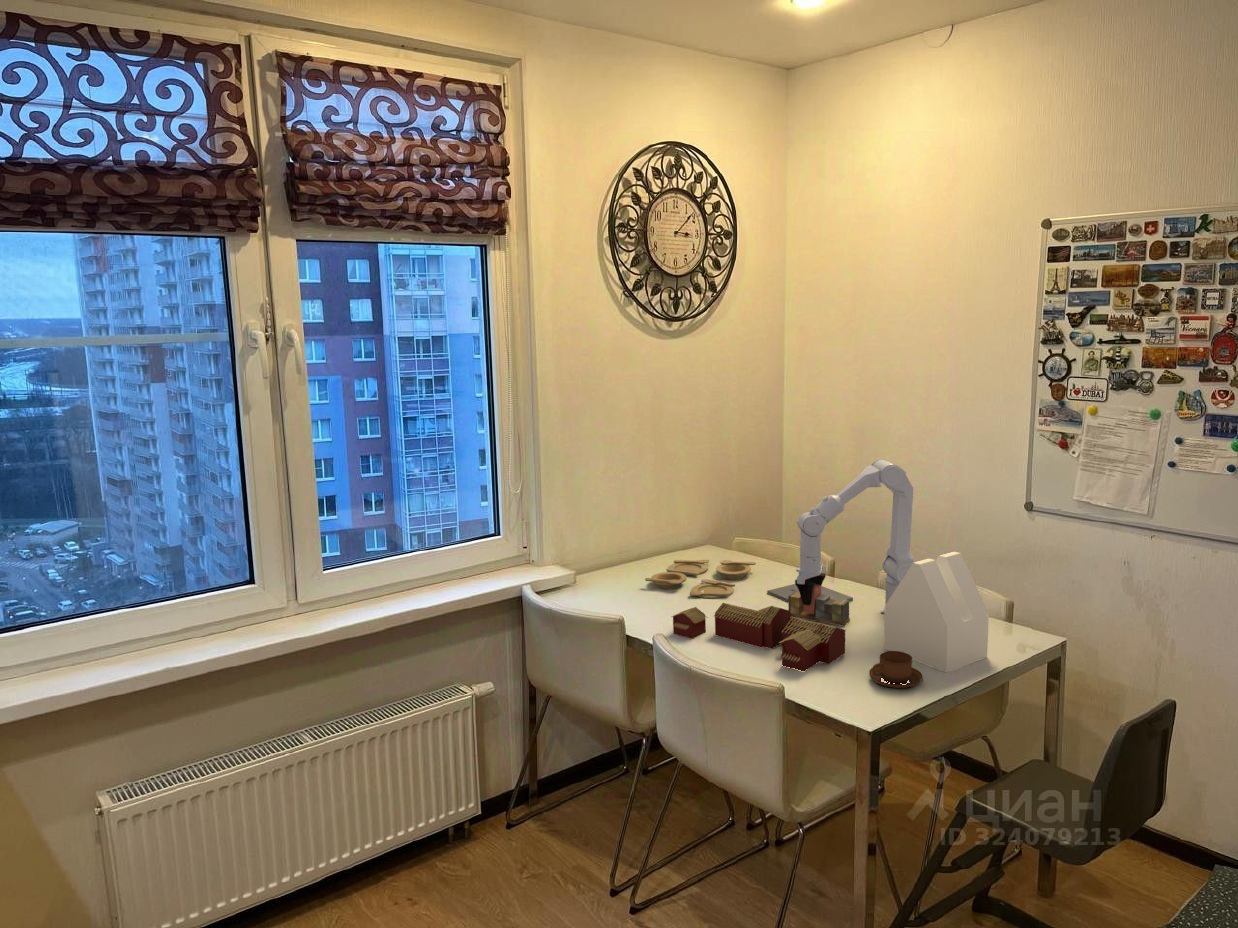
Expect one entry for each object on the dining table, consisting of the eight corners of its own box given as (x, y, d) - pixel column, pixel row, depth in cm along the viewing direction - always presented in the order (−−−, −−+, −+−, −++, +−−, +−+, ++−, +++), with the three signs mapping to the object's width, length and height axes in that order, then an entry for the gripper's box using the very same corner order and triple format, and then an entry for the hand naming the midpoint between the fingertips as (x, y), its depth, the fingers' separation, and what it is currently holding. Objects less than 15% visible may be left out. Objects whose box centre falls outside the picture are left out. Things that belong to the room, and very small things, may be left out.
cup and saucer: (900, 697, 205) (900, 671, 204) (858, 680, 215) (858, 655, 214) (933, 682, 212) (933, 657, 211) (890, 666, 222) (891, 643, 221)
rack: (849, 620, 253) (849, 598, 251) (843, 626, 249) (844, 603, 248) (794, 611, 262) (794, 589, 261) (787, 616, 258) (787, 594, 257)
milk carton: (884, 648, 233) (885, 554, 228) (924, 634, 241) (926, 544, 236) (946, 672, 217) (949, 572, 212) (987, 657, 225) (990, 560, 220)
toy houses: (850, 651, 233) (850, 613, 231) (809, 677, 217) (809, 638, 216) (707, 615, 262) (706, 582, 260) (663, 637, 247) (662, 601, 245)
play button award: (811, 608, 261) (767, 590, 278) (811, 613, 261) (767, 595, 278) (853, 597, 269) (807, 580, 286) (853, 602, 269) (807, 585, 286)
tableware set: (678, 562, 315) (678, 551, 315) (759, 570, 303) (759, 558, 302) (636, 593, 284) (636, 581, 284) (725, 603, 272) (725, 591, 271)
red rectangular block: (820, 608, 257) (821, 585, 256) (813, 614, 253) (814, 590, 252) (810, 606, 259) (811, 583, 258) (803, 612, 255) (804, 588, 253)
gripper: (807, 547, 262) (807, 591, 264) (786, 559, 250) (786, 606, 252) (830, 550, 258) (830, 595, 260) (810, 563, 246) (810, 611, 248)
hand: (810, 601), depth 256 cm, fingers closed on red rectangular block, 5 cm apart
